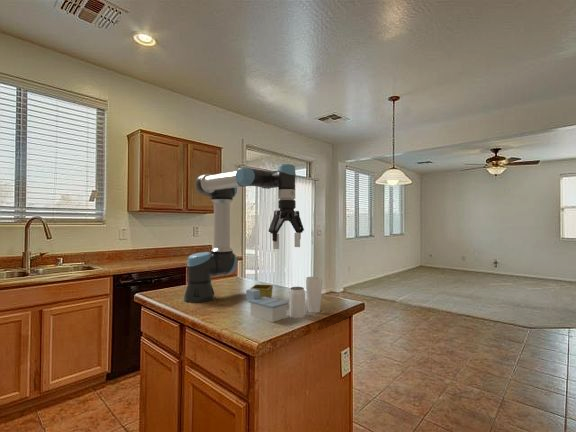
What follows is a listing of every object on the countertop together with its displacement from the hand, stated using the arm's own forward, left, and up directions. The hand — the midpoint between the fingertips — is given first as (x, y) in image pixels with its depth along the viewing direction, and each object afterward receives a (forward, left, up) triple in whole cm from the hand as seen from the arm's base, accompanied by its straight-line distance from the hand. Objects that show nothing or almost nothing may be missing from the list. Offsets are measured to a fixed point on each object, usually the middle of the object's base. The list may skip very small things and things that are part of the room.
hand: (287, 248), depth 137 cm
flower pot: (-16, 0, -28) cm, 33 cm away
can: (+8, -2, -28) cm, 29 cm away
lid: (-3, -11, -24) cm, 27 cm away
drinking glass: (+9, +8, -28) cm, 31 cm away
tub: (0, -11, -28) cm, 30 cm away
